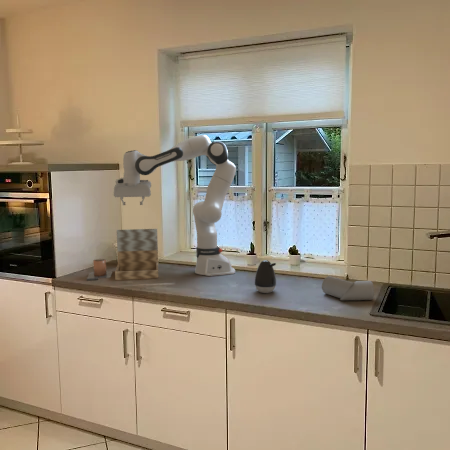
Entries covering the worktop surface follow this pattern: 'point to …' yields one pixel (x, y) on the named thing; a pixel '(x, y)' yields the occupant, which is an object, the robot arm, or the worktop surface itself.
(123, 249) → the brown patterned open box
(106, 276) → the slate tile
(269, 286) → the pump dispenser
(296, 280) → the worktop surface
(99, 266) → the terracotta pot
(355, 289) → the bent grey cylinder
